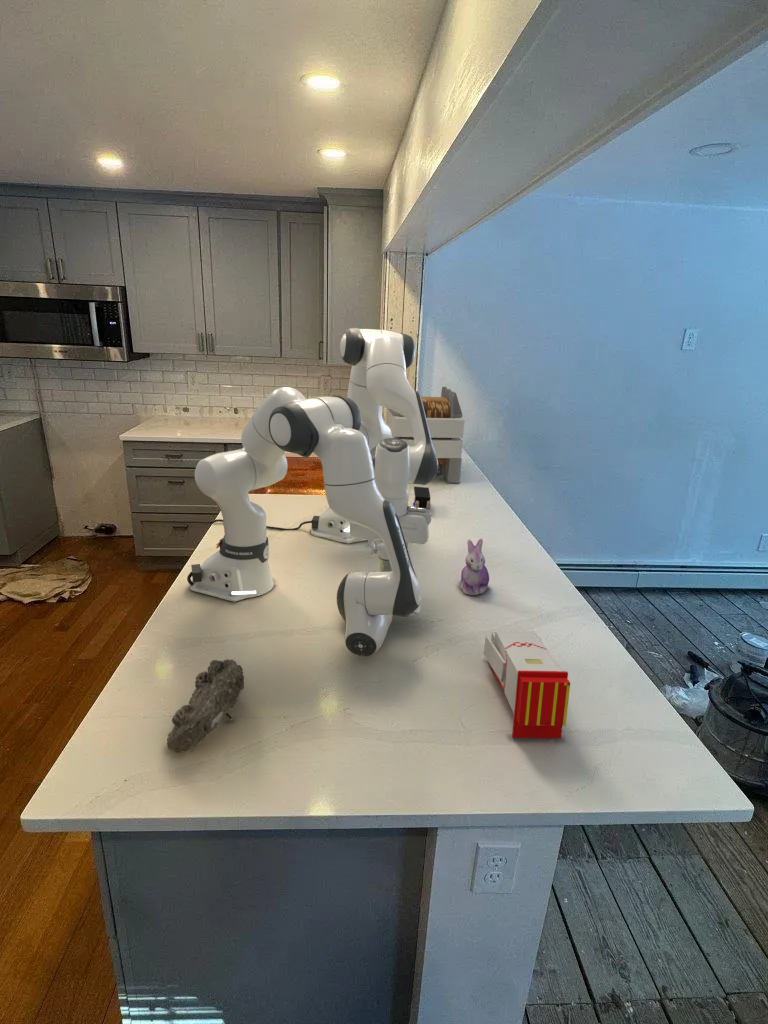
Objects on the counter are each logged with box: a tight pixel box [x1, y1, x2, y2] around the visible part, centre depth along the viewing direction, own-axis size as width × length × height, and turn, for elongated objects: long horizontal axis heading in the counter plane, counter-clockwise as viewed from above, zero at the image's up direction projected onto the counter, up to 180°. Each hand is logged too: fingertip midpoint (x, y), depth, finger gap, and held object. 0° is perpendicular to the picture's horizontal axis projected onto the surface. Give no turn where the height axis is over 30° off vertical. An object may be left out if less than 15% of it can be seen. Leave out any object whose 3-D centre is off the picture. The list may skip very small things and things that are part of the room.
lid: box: [376, 542, 389, 560], centre depth 146 cm, size 6×6×2 cm
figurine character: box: [412, 486, 431, 511], centre depth 224 cm, size 7×8×15 cm
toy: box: [483, 629, 571, 739], centre depth 117 cm, size 12×13×30 cm
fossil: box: [166, 658, 245, 754], centre depth 106 cm, size 22×10×15 cm
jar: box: [377, 556, 392, 572], centre depth 149 cm, size 5×5×16 cm
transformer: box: [385, 386, 465, 484], centre depth 268 cm, size 34×33×41 cm
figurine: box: [459, 538, 490, 596], centre depth 160 cm, size 9×10×15 cm
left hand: (387, 585), depth 151 cm, fingers closed on jar, 5 cm apart
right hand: (387, 555), depth 147 cm, fingers closed on lid, 6 cm apart
